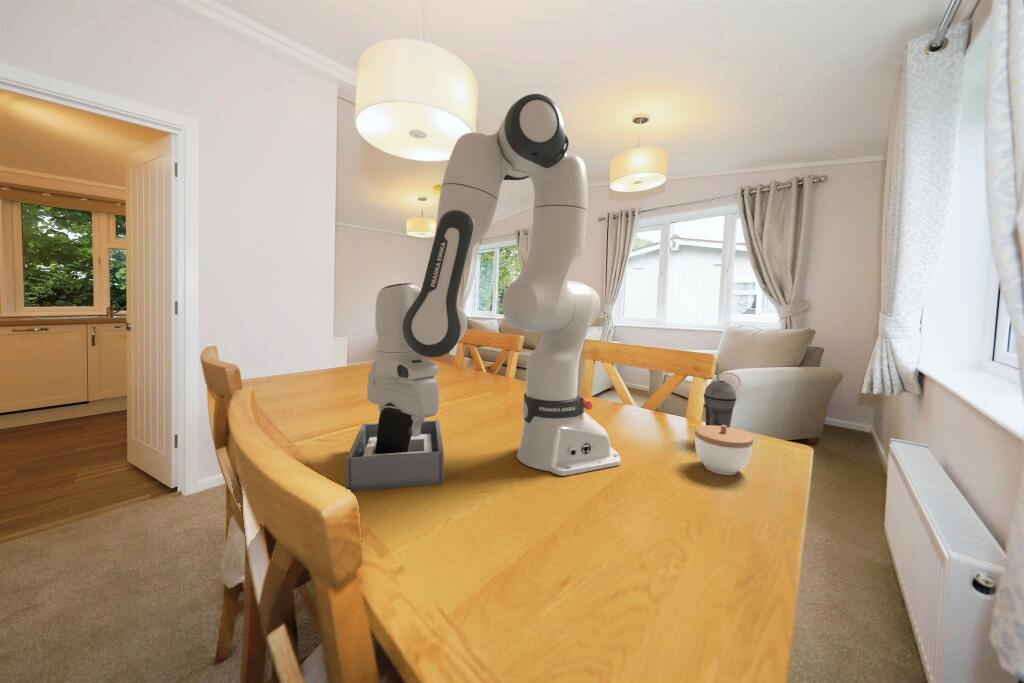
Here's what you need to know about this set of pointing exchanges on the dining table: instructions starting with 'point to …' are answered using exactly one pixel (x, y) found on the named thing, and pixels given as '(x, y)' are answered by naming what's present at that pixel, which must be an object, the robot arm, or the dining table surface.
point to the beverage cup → (719, 402)
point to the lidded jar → (723, 448)
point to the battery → (393, 431)
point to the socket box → (395, 461)
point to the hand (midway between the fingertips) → (401, 430)
